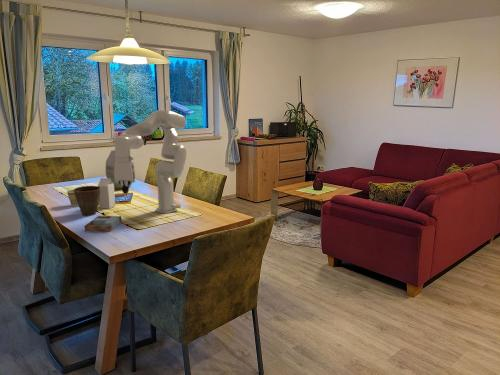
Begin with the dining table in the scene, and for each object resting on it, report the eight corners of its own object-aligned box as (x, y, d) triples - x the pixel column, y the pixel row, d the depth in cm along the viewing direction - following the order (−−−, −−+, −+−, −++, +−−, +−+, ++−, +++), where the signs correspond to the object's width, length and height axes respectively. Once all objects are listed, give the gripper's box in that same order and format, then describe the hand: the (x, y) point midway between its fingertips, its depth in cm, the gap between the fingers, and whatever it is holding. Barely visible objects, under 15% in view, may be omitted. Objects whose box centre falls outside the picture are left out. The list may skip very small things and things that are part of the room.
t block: (119, 222, 224) (119, 216, 224) (112, 229, 213) (111, 222, 212) (98, 222, 225) (98, 215, 224) (90, 229, 213) (89, 222, 212)
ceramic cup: (71, 208, 252) (69, 193, 250) (66, 205, 260) (65, 190, 257) (91, 205, 260) (90, 190, 258) (87, 202, 268) (85, 187, 265)
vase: (109, 185, 318) (106, 148, 311) (136, 184, 321) (134, 147, 315) (104, 191, 297) (101, 152, 290) (134, 190, 301) (131, 151, 294)
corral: (121, 221, 227) (121, 216, 227) (109, 231, 210) (109, 226, 209) (98, 220, 228) (98, 215, 227) (84, 231, 210) (84, 225, 210)
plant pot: (107, 213, 241) (105, 188, 238) (83, 219, 231) (80, 192, 227) (95, 209, 251) (93, 184, 248) (71, 214, 240) (69, 188, 237)
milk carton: (109, 208, 252) (107, 179, 248) (99, 208, 254) (97, 179, 249) (115, 205, 259) (113, 177, 255) (105, 205, 260) (103, 177, 256)
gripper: (139, 158, 214) (141, 191, 218) (112, 158, 214) (114, 191, 219) (135, 160, 207) (137, 194, 211) (106, 160, 207) (109, 194, 211)
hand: (125, 192), depth 215 cm, fingers closed
